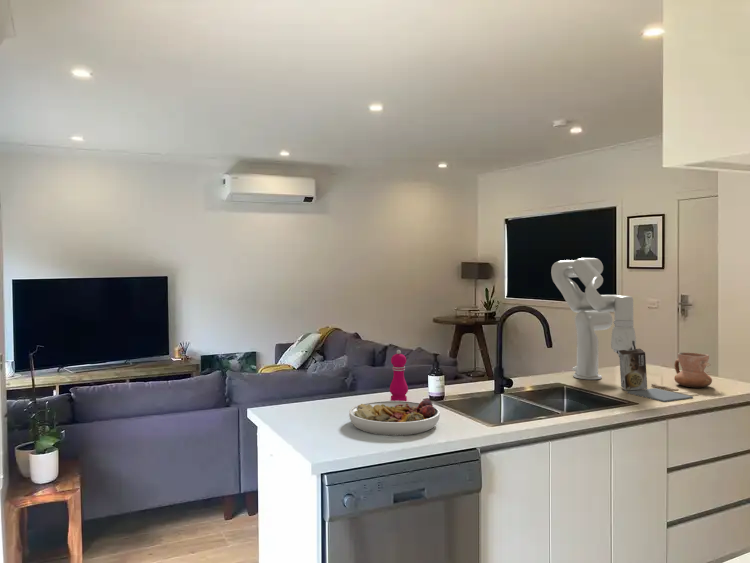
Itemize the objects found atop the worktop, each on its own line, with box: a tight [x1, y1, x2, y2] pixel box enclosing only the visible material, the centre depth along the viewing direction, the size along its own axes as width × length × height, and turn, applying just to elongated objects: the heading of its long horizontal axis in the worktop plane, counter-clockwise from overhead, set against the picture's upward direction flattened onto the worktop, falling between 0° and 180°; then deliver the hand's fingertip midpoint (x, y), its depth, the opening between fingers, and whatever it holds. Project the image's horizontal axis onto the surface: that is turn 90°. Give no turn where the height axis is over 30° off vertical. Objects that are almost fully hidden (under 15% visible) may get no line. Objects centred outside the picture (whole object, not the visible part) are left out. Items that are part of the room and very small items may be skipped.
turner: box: [651, 383, 699, 397], centre depth 251 cm, size 20×5×1 cm, turn 24°
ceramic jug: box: [674, 351, 713, 389], centre depth 261 cm, size 18×14×14 cm
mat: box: [626, 387, 694, 403], centre depth 242 cm, size 18×16×1 cm
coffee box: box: [618, 348, 648, 392], centre depth 253 cm, size 9×6×16 cm
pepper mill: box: [389, 349, 409, 401], centre depth 234 cm, size 7×7×20 cm
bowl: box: [348, 398, 441, 436], centre depth 199 cm, size 30×30×8 cm
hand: (624, 366), depth 259 cm, fingers closed
